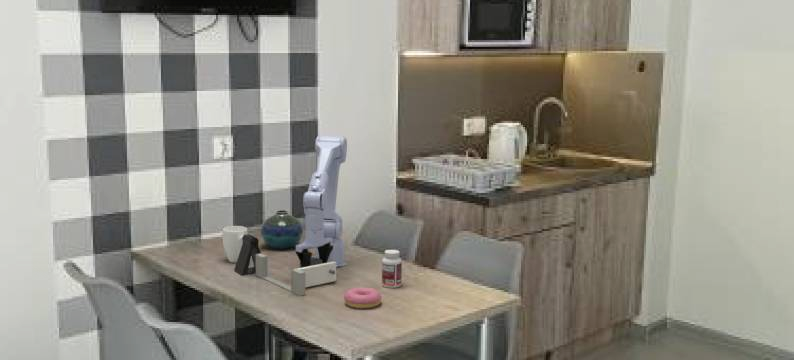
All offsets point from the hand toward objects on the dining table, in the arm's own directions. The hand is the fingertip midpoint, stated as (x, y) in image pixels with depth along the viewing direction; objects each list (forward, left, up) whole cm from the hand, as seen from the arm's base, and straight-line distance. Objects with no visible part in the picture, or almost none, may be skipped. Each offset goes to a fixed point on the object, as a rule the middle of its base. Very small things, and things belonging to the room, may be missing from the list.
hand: (314, 269), depth 258 cm
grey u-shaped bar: (+13, -1, -3) cm, 13 cm away
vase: (-12, -40, -3) cm, 42 cm away
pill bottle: (-16, +20, -3) cm, 26 cm away
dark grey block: (0, 0, -3) cm, 3 cm away
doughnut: (+3, +29, -3) cm, 29 cm away
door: (+4, +8, -2) cm, 9 cm away
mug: (+10, -31, -3) cm, 33 cm away
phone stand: (+12, -19, -3) cm, 23 cm away
